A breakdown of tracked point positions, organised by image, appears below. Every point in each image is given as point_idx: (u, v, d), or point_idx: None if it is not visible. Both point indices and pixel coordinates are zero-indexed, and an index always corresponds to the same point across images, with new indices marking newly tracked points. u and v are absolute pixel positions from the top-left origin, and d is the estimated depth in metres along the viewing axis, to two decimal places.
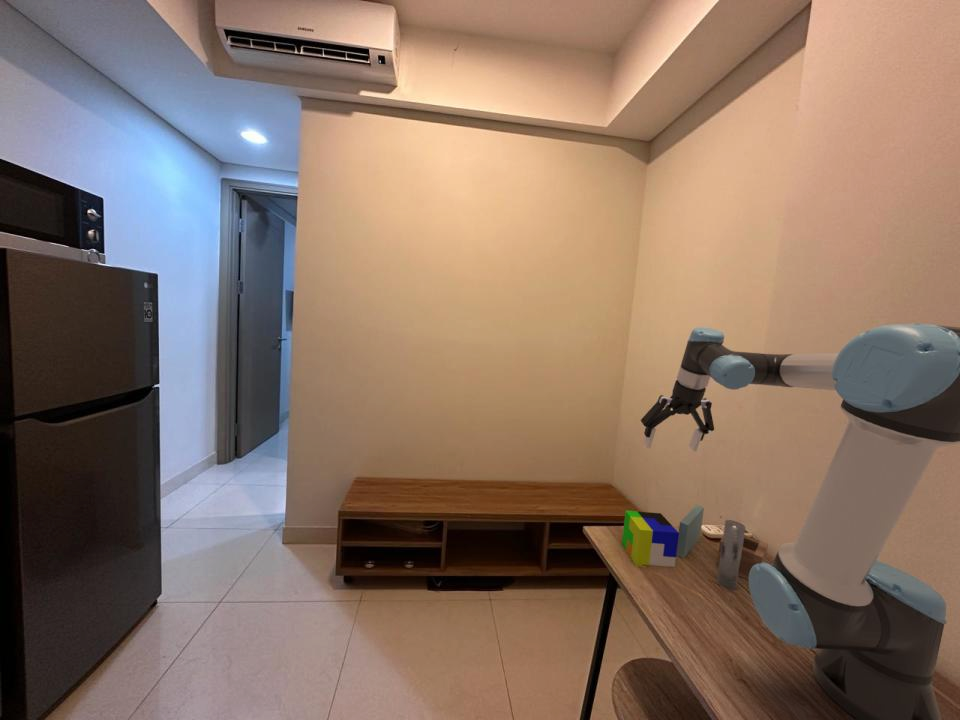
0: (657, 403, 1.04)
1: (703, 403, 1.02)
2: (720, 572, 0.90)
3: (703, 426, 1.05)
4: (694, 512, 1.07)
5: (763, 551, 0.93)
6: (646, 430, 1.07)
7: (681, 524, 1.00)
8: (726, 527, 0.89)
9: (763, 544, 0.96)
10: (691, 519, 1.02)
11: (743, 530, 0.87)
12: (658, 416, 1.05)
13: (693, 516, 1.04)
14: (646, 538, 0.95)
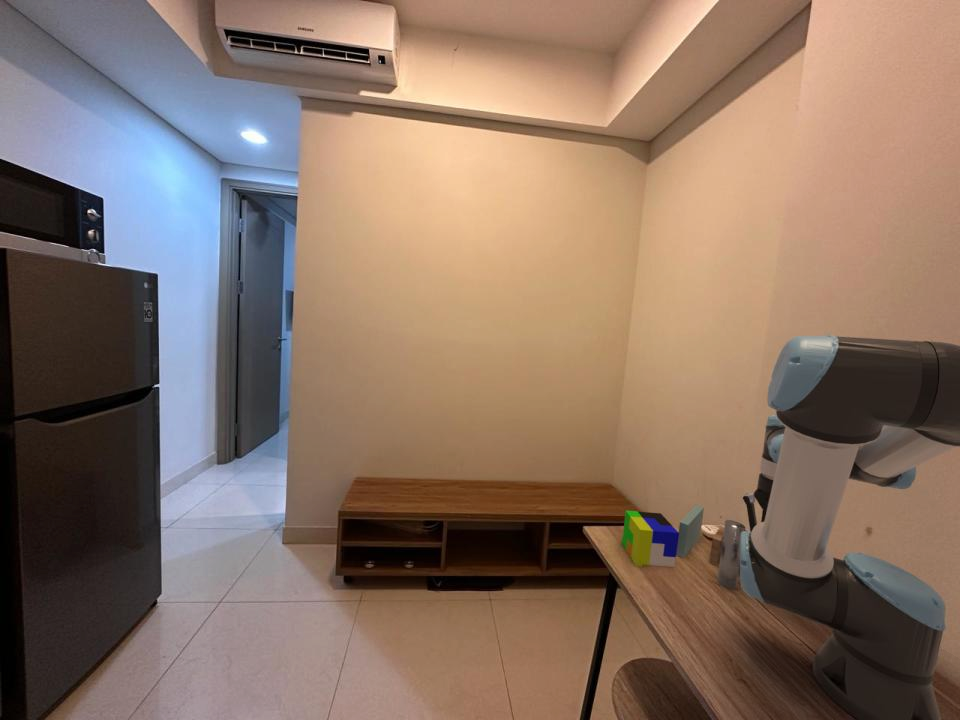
0: None
1: None
2: (720, 572, 0.90)
3: None
4: (694, 512, 1.07)
5: None
6: None
7: (681, 524, 1.00)
8: (726, 527, 0.89)
9: None
10: (691, 519, 1.02)
11: (743, 530, 0.87)
12: None
13: (693, 516, 1.04)
14: (646, 538, 0.95)
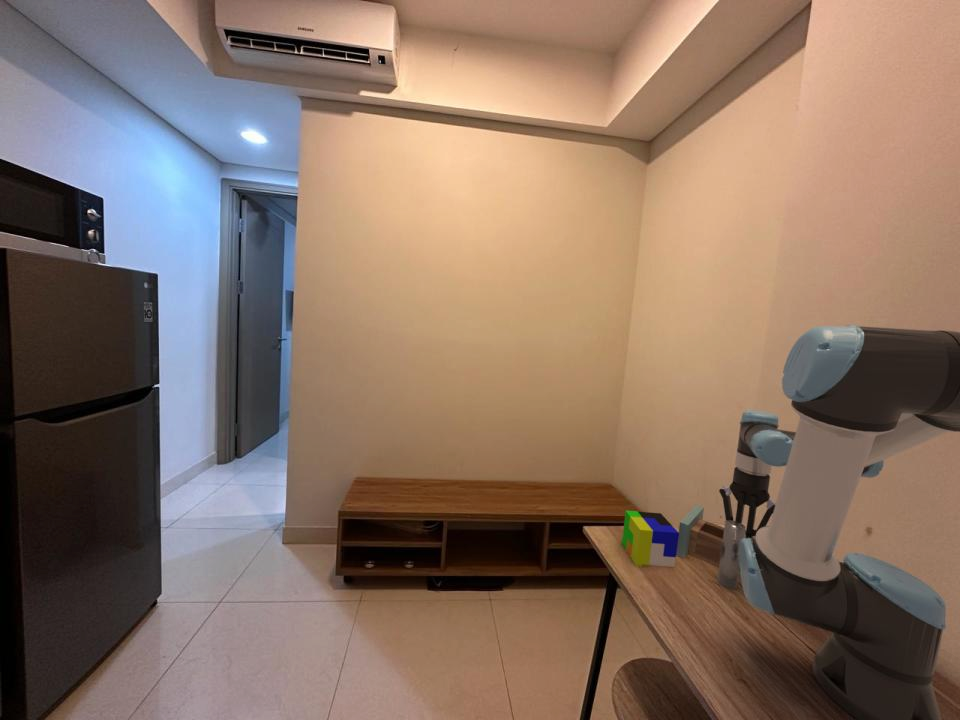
0: None
1: (770, 503, 0.93)
2: (720, 572, 0.90)
3: (750, 528, 0.95)
4: (694, 512, 1.07)
5: None
6: None
7: (681, 524, 1.00)
8: (726, 527, 0.89)
9: None
10: (691, 519, 1.02)
11: (743, 530, 0.87)
12: None
13: (693, 516, 1.04)
14: (646, 538, 0.95)
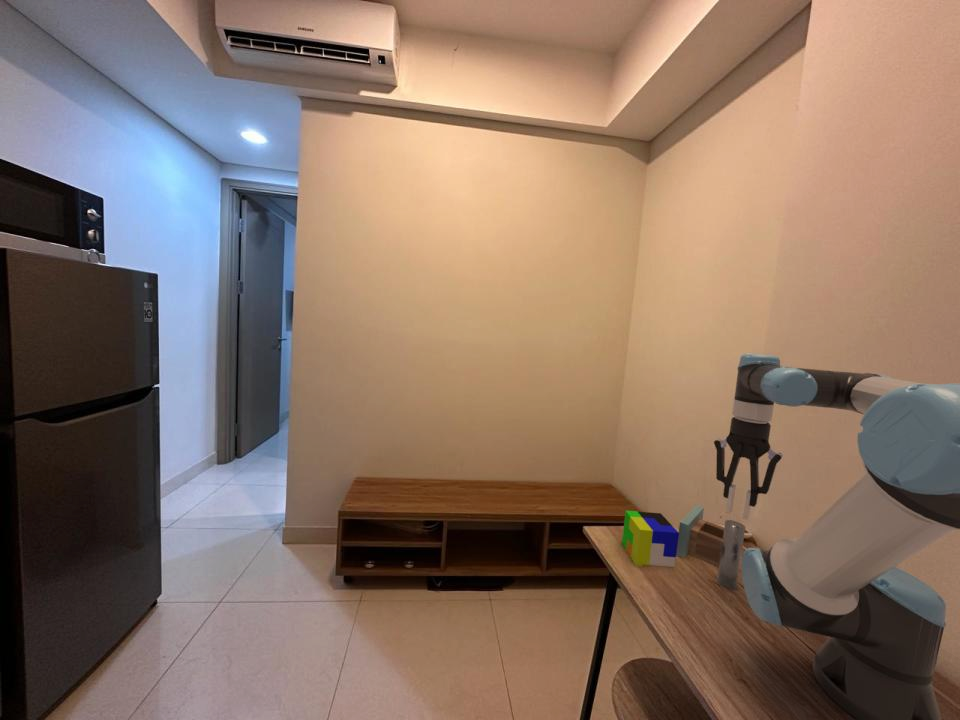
0: None
1: (771, 453, 0.83)
2: (720, 572, 0.90)
3: (754, 484, 0.85)
4: (694, 512, 1.07)
5: None
6: None
7: (681, 524, 1.00)
8: (726, 527, 0.89)
9: None
10: (691, 519, 1.02)
11: (743, 530, 0.87)
12: None
13: (693, 516, 1.04)
14: (646, 538, 0.95)
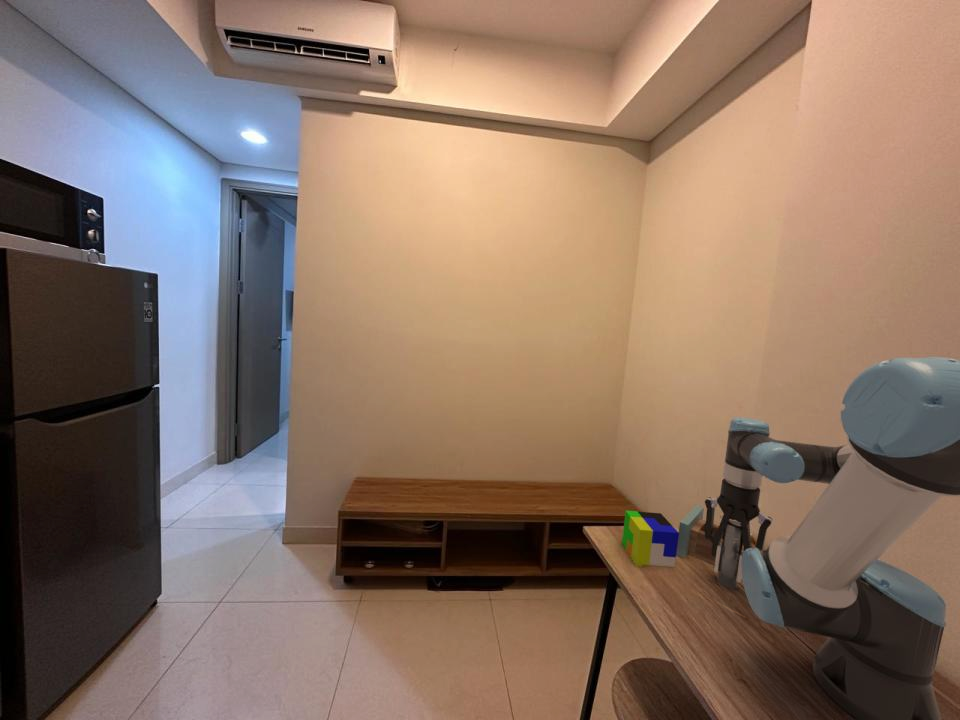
0: None
1: (761, 517, 0.85)
2: (720, 572, 0.90)
3: (747, 548, 0.86)
4: (694, 512, 1.07)
5: None
6: None
7: (681, 524, 1.00)
8: (726, 527, 0.89)
9: None
10: (691, 519, 1.02)
11: None
12: None
13: (693, 516, 1.04)
14: (646, 538, 0.95)
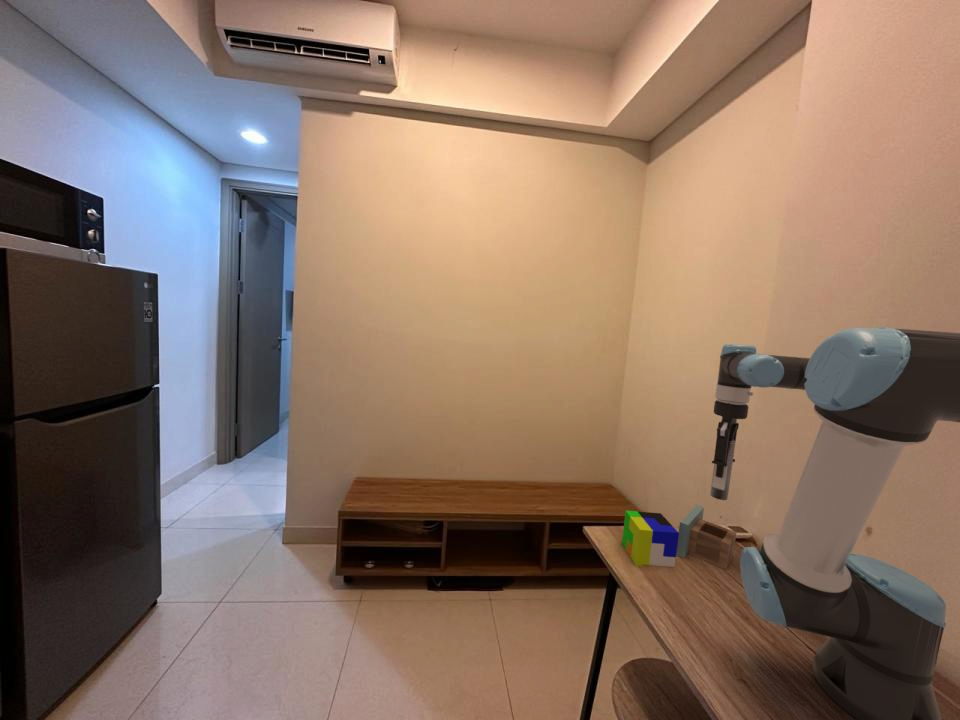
0: None
1: None
2: None
3: None
4: (694, 512, 1.07)
5: (730, 538, 0.98)
6: None
7: (681, 524, 1.00)
8: None
9: (731, 532, 1.01)
10: (691, 519, 1.02)
11: None
12: None
13: (693, 516, 1.04)
14: (646, 538, 0.95)
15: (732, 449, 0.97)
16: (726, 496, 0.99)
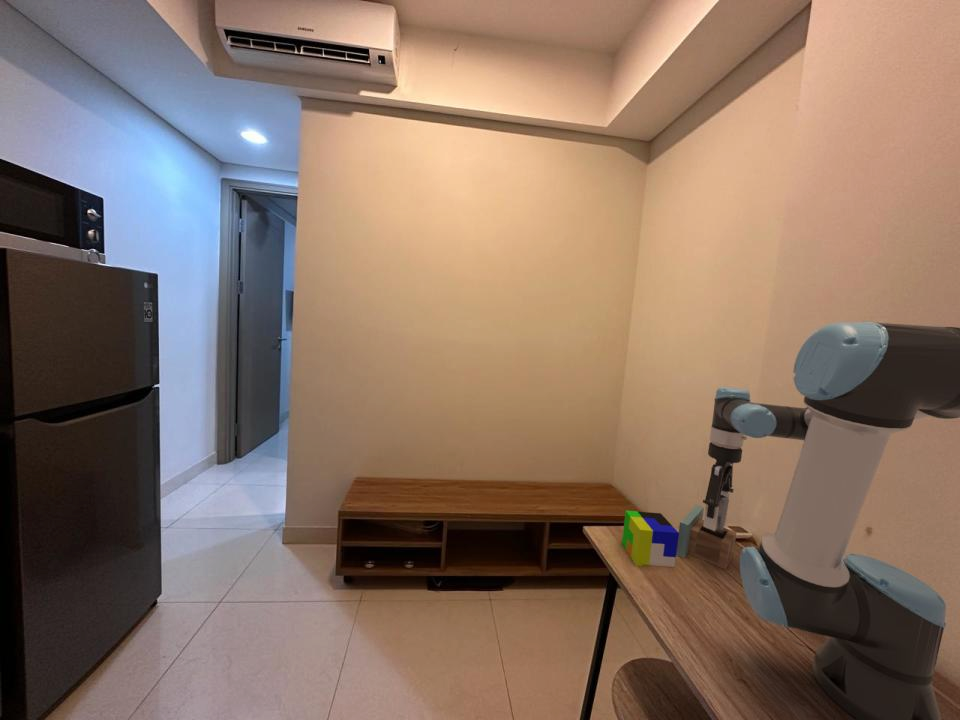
0: None
1: None
2: None
3: None
4: (694, 512, 1.07)
5: (730, 538, 0.98)
6: None
7: (681, 524, 1.00)
8: None
9: (731, 532, 1.01)
10: (691, 519, 1.02)
11: None
12: None
13: (693, 516, 1.04)
14: (646, 538, 0.95)
15: (725, 507, 0.98)
16: None
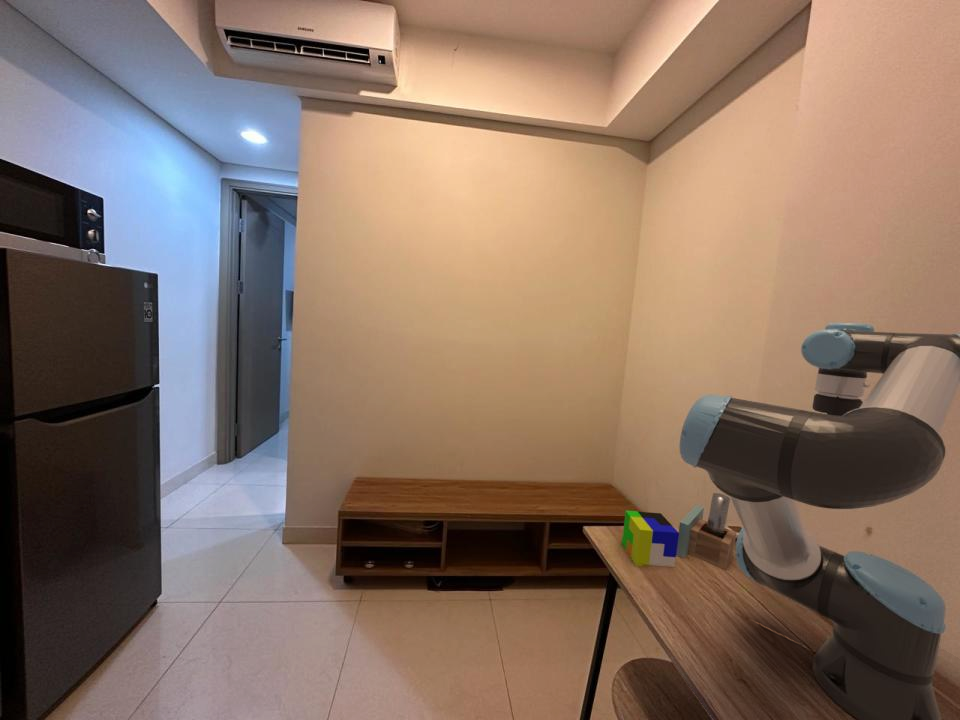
0: None
1: None
2: None
3: None
4: (694, 512, 1.07)
5: (730, 538, 0.98)
6: None
7: (681, 524, 1.00)
8: None
9: (731, 532, 1.01)
10: (691, 519, 1.02)
11: (716, 498, 1.00)
12: None
13: (693, 516, 1.04)
14: (646, 538, 0.95)
15: (726, 506, 0.99)
16: None
